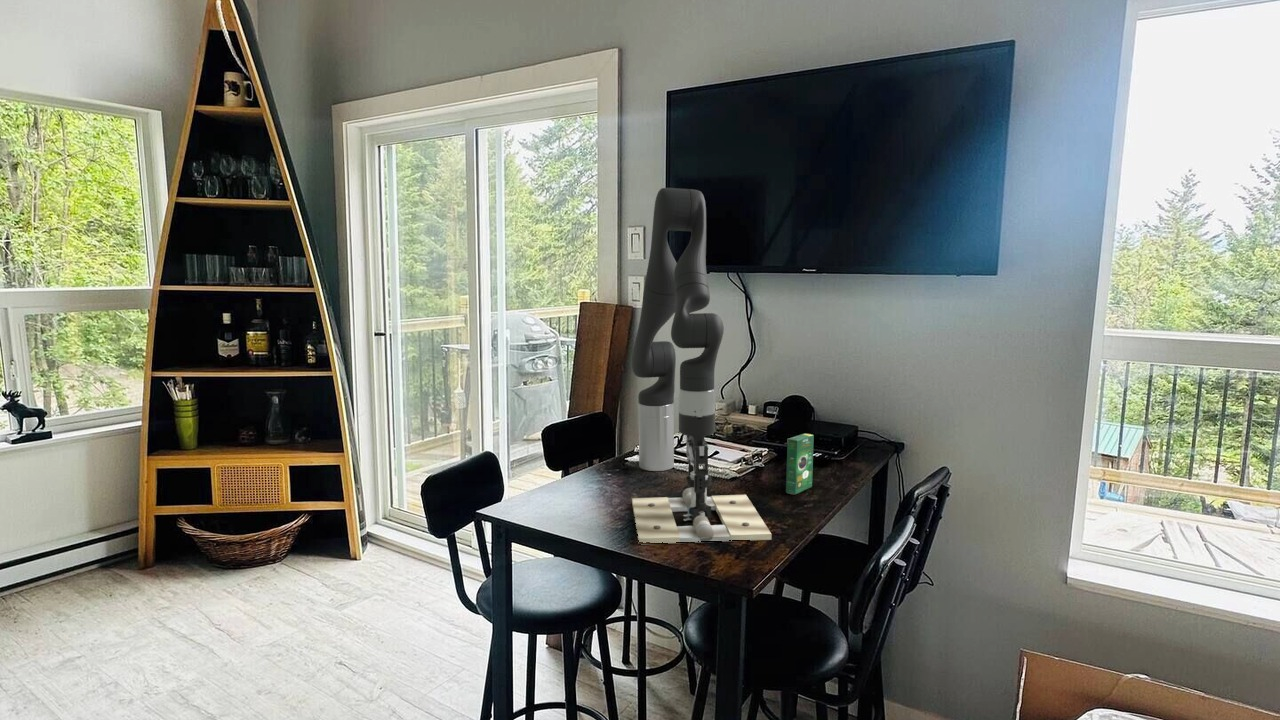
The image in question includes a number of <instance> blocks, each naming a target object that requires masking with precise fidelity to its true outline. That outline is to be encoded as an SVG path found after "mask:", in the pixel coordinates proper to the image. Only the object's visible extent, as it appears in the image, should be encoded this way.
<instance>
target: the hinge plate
mask: <svg viewBox="0 0 1280 720" xmlns="http://www.w3.org/2000/svg"><path fill="white" fill-rule="evenodd" d="M681 495H682V496H681V497H668V496H665V497H664V496H663V497H661V496H659V497H633V498H631V504H632V510H633V516H634V517H635V518H634V523H636V524H635V528H636V529H637V530H636V535H637V534H638V536H637V540H639V542H643V543H646V542H650V543H662V542H663V543H668V544H677V543H676V542H695V543H702V542H701V541H722V542H733V541H732V540H750V541H770V540H771V541H772V533H771V530H770V529H769V528H768V526H767V524H766V523H765V522H764V520H763V519H762V517H761V516H760V514H759V512H758V511H757V509H756V507H755V506H754V505H753V503H752V501H751V500H750V499H749V497H748V496H747V494H729V495H728V494H723V495H722V494H721V495H711V496H707V504H706V505H708V506H711V511H716V513H717V515H718V517H719V520H720V521H721V524H712V525H711V523H710V520H709V519H707V517H706V516H703V515H699V516H697V517H695V519H694V521H693V522H692V525H682V526H681V525H678V526H677V523H676V520H675V518H674V513H675V512H688V507H691V506H690V505H691V487H686V488H685V489H684V490H683V491H682V494H681ZM673 512H674V513H673ZM729 540H731V541H729ZM698 541H699V542H698ZM639 542H638V543H639Z"/></svg>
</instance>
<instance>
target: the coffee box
mask: <svg viewBox="0 0 1280 720" xmlns="http://www.w3.org/2000/svg"><path fill="white" fill-rule="evenodd" d="M814 439H815V437H814V434H811V433H806V432H805V433H801V434H799V435H795V436H793V437H790V438H787V448H786V449H787V450H786V479H785V480H786V482H785V493H786V494H790V495H797V494H800V493H802V492H804V491H806V490H809V489H810V488H812V487H813V473H814V471H813V470H814V469H813V468H814V466H813V465H814V443H815V442H814Z"/></svg>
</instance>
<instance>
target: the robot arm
mask: <svg viewBox="0 0 1280 720" xmlns="http://www.w3.org/2000/svg"><path fill="white" fill-rule="evenodd" d="M706 205H707V204H706V200H705V196H704V194H703V192H702V191H700V190H698V189H691V188H690V189H689V188H675V187H662V188H660V189H659V190H658V192H657V194H656V197H655V201H654V208H653V219H652V232H651V242H650V251H649V258H648V263H647V270H646V275H645V280H644V287H643V294H642V304H641V310H640V319H639V323H638V327H637V332H636V336H635V340H634V344H633V349H632V356H631V369H632V371H633V372H632V373H633V374H634V375H635V376H636V377H638V378H640V379H641V378H643V379H645V378H646V379H647V378H649V379H650V378H658V379H657V381H655V383H654V384H652V385H651V386H649V387H646V388H644V389H642V390H641V391H639V392H638V400H637V401H638V466H639V468H640V469H642V470H644V471H650V472H651V471H652V472H662V471H669V470H671V469H673V468H674V466H675V461H674V460H675V456H674V455H675V441H674V440H675V438H674V437H675V429H674V428H675V426H674V425H675V421H674V419H675V412H674V411H675V410H674V409H675V407H674V402H675V401H674V399H675V398H674V397H675V386H676V385H675V381H676V379H675V378H676V366H677V365H676V359H677V357H676V352H675V351H676V350H675V347H674V345H675V346H676V347H677V348H679V349H703V351H702V353H701V354H700V355H699V356H695V357H693V358H687V359H686V360H683V361H682V362H681V363H680V366H679V394H678V432H679V433H680V434H681V435H684V436H686V441H685V446H686V451H685V455H686V457H687V458H686V460H687V462H688V463H687V464H688V474H687V476H688V475H690V473H691V472H692V471H693V474H694V492H695V493H705V475H709V447H708V446H709V445H708V442H706V439H705V437H707V436H711V435H713V434H714V433H715V432H716V395H715V367H716V362H717V358H718V353H719V350H720V347H721V343H722V340H723V335H724V330H725V328H724V322H723V320H722V317H720V316H719V315H718V314H717V313H713V312H710V313H709V312H706V313H705V312H703V313H701V312H699V313H694V312H697V311H701V310H703V309H705V308H706V307H707V306H708V305H709V304H710V299H711V295H710V289H709V278H708V274H707V265H706V264H707V258H706V256H707V207H706ZM669 231H677V232H678V231H679V232H691V235H690V240H689V242H688V244H687V246H686V248H685V249H684V251H683V253H682V254H681V256H680V257H679V259H678V260H677V261H676V259H675V257H674V255H673V253H672V250H671V249H670V245H669V242H668V232H669ZM672 316H673V319H672V323H671V324H672V325H671V330H670V337H671V340H672V342H671V341H666V340H663V341H654V339H655V337H656V335H657V334H658V332H659V331H660V329H661V328H662V327H663V326H664V325H665V324H666V323H667V322H668V321H669V320H670V319H671V318H672ZM673 343H674V345H673ZM700 466H702V468H701V469H700Z"/></svg>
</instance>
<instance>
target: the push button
mask: <svg viewBox="0 0 1280 720" xmlns="http://www.w3.org/2000/svg"><path fill="white" fill-rule="evenodd" d="M685 478H686V479H685V480H686V481H687V482H686V483H687V486H689V488H691V505H690V506H691V507H688V511H687V513H686V514H683V515H682V516H683V517H684V518H683V521H684V522H686V521H691V522H692V523H693V521H694V519H695V517H697V516H699V515H703V516H706V517H707V519H708V520H709V519H711V518H712V510H711V506H708V505H706V504H707V497H708V495H707V494H708V493H707V491H708V490H707V489H708V487H710V486H711V482H712V480H713V478H712V476H711V475H710V474H708V475H705V493H695V492H694V474H693V471H692V472H691V473H690V475H688V474H687V476H686V477H685ZM685 517H686V518H685Z"/></svg>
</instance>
